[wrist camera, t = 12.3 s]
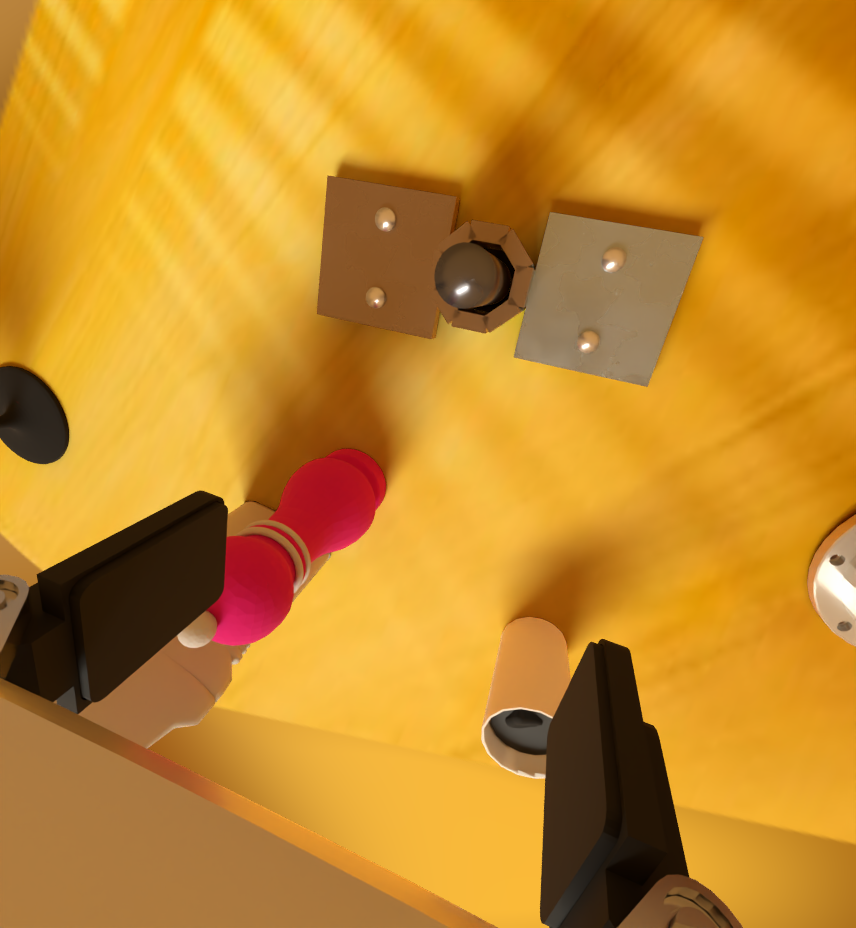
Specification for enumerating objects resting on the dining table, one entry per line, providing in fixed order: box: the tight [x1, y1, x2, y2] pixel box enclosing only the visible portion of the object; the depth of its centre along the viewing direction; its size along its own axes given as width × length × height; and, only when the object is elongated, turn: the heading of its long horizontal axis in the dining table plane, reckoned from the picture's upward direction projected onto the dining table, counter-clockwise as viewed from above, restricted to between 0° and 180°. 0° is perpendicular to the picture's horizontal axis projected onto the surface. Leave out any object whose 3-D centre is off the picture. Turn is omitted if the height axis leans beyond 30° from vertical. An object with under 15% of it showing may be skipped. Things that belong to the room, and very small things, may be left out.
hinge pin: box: [434, 242, 511, 309], centre depth 27 cm, size 3×3×10 cm
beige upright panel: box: [53, 501, 330, 748], centre depth 33 cm, size 11×4×22 cm, turn 62°
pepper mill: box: [177, 449, 386, 648], centre depth 30 cm, size 7×7×20 cm
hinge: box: [317, 176, 703, 387], centre depth 29 cm, size 24×9×5 cm, turn 80°
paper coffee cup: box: [482, 617, 571, 779], centre depth 36 cm, size 7×7×10 cm
